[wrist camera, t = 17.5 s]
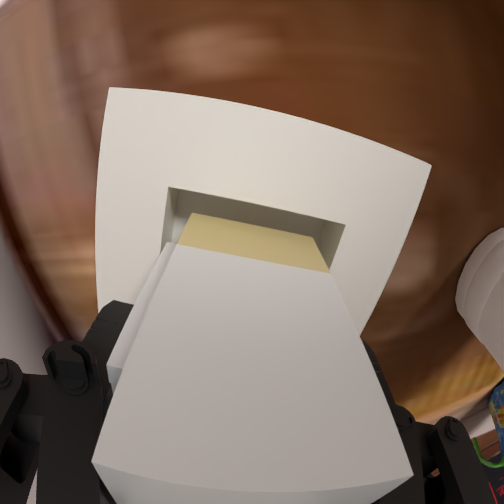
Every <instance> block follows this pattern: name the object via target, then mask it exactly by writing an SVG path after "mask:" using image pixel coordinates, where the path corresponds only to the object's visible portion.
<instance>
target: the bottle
mask: <svg viewBox="0 0 504 504" xmlns="http://www.w3.org/2000/svg"><path fill="white" fill-rule="evenodd" d="M455 301H456V306H457V311H458V312H459V314H460V315H461V316H462V317H463V319H464V320H465V323H466V324H467V326H468V327H469V328H470V330H471V331H472V332H473V333H474V335H475V336H476V337H477V338H478V339H479V341H480V342H481V343H482V344H484V345H485V347H486V348H487V349H488V351H489V352H490V353H491V355H492V356H493V358H494V359H495V360H496V362H497V363H498V364H499V366H500V367H501V369H502V370H503V372H504V228H500V229H498V230H496V231H495V232H493V233H491V234H489V235H488V236H487V237H486V238H485V239H484V240H483V241H482V242H481V243H480V244H479V245H478V246H477V247H476V248H475V250H474V251H473V253H472V254H471V256H470V257H469V259H468V261H467V262H466V264H465V266H464V268H463V271H462V273H461V276H460V278H459V281H458V285H457V291H456V297H455Z"/></svg>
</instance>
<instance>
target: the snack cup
mask: <svg viewBox="0 0 504 504" xmlns="http://www.w3.org/2000/svg"><path fill="white" fill-rule="evenodd" d="M488 405H489V410H490V413H491V415H492V418H493V422H494V424H495V428H496V431H497V433H498V436H499V443H500V449H501V457H502V460H501V461H500V462H499V463H498V464H497V463H491V462H489V461H487V460H485V459H483V457H482V454H481V451H480V448H479V446H478V441H477V439H476V438H475V437H474V438H473V446H474V448H475V450H476V453H477V455H478V457H479V460H480V461H481V462H482V463H483V464H485V465H486V466H488V467H492V468H497V467H502V466H504V381H503V383H502V384H501V385H499V386H498V387H496V388H495V389H494V392H493V394H492V395H491V396H490V399H489V402H488Z"/></svg>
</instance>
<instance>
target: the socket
mask: <svg viewBox="0 0 504 504" xmlns="http://www.w3.org/2000/svg"><path fill="white" fill-rule="evenodd" d="M431 166H432V165H430V164H428V163H426V162H424V161H421V160H419V159H417V158H414V157H412V156H410V155H407V154H405V153H402V152H400V151H398V150H395V149H393V148H390V147H387V146H385V145H382V144H380V143H377V142H374V141H371V140H369V139H366V138H363V137H360V136H357V135H355V134H352V133H349V132H346V131H343V130H339V129H336V128H333V127H330V126H327V125H323V124H320V123H317V122H313V121H310V120H306V119H303V118H299V117H295V116H292V115H288V114H284V113H280V112H276V111H272V110H268V109H263V108H259V107H254V106H250V105H245V104H240V103H235V102H230V101H224V100H219V99H213V98H207V97H201V96H194V95H187V94H180V93H172V92H163V91H154V90H143V89H130V88H113V87H109V92H108V97H107V103H106V109H105V115H104V122H103V129H102V137H101V145H100V154H99V165H98V177H97V192H96V217H95V259H96V284H97V300H98V312H100V310H101V309H102V307H104V306H105V305H107V304H108V303H110V302H111V301H113V300H116V301H120V302H124V303H129V304H133V305H134V304H135V302H136V300H137V298H138V296H139V294H140V292H141V290H142V288H143V286H144V284H145V282H146V280H147V278H148V277H149V275H150V273H151V271H152V269H153V267H154V265H155V263H156V261H157V259H158V258H159V256H160V254H161V252H162V250H163V248H164V247H165V245H166V243H167V242H170V243H175V244H177V242H178V240H179V238H180V236H181V234H182V232H183V230H184V228H185V226H186V224H187V222H188V220H189V218H190V216H191V214H192V213H196V214H201V215H207V216H212V217H217V218H222V219H227V220H232V221H237V222H242V223H247V224H252V225H257V226H262V227H266V228H271V229H276V230H281V231H286V232H290V233H295V234H300V235H304V236H309V237H313V239H314V241H315V243H316V245H317V247H318V249H319V251H320V253H321V255H322V257H323V259H324V261H325V263H326V265H327V267H328V269H329V271H330V273H331V275H332V277H333V279H334V282H335V284H336V286H337V288H338V290H339V292H340V294H341V296H342V298H343V301H344V303H345V305H346V307H347V309H348V311H349V314H350V316H351V318H352V320H353V322H354V325H355V327H356V329H357V331H358V334H359V336H360V334H361V333H362V331H363V329H364V327H365V325H366V323H367V321H368V319H369V317H370V315H371V313H372V312H373V310H374V308H375V306H376V304H377V302H378V299H379V297H380V295H381V293H382V291H383V289H384V287H385V285H386V283H387V281H388V278H389V276H390V274H391V272H392V270H393V267H394V265H395V263H396V261H397V258H398V256H399V254H400V251H401V249H402V246H403V244H404V242H405V239H406V237H407V234H408V232H409V229H410V227H411V224H412V221H413V219H414V216H415V213H416V211H417V208H418V205H419V202H420V200H421V197H422V194H423V191H424V188H425V185H426V182H427V179H428V176H429V173H430V169H431Z"/></svg>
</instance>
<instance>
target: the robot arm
mask: <svg viewBox="0 0 504 504" xmlns="http://www.w3.org/2000/svg"><path fill="white" fill-rule="evenodd" d="M175 246H176V244H175V243H170V242H167V243H166V245H165V247H164V248H163V250H162V252H161V254H160V256H159V258H158V259H157V261H156V263H155V265H154V267H153V269H152V271H151V273H150V275H149V277H148V278H147V280H146V282H145V284H144V286H143V288H142V290H141V292H140V294H139V296H138V298H137V300H136V302H135V304H134V305H133V304H129V303H124V302H120V301H116V300H113V301H111V302H110V303H108V304H107V305H105V306H104V307H102V309H101V310H100V312H99V314H98V315H97V317H96V320H94V322H93V324H92V326H91V329H89V331H88V332H87V334H86V336H85V338H84V339H83V341H82V342H78V341H74V340H65V341H60V342H57V343H55V344H53V345H52V346H50V347H49V348H48V349H47V350H46V351H45V353H44V355H43V357H42V358H43V361H44V364H45V367H46V370H47V373H48V375H36V374H25V373H22V371H21V369H20V367H19V366H18V364H16V363H15V362H13V361H12V360H9V359H5V358H2V359H0V504H26V502H27V499H28V496H29V492H30V489H31V486H32V483H33V480H34V477H35V474H36V471H37V490H36V492H37V493H36V504H117V503H116V502H115V500H114V499H113V497H112V495H111V494H110V492H109V491H108V489H107V488H106V486H105V484H104V483H103V481H102V479H101V478H100V476H99V474H98V473H97V471H96V469H95V467H94V466H93V464H92V462H91V461H92V458H93V455H94V451H95V448H96V445H97V442H98V439H99V436H100V432H101V429H102V426H103V423H104V420H105V417H106V414H107V412H108V409H109V406H110V403H111V400H112V397H113V395H114V392H115V389H116V386H117V384H118V381H119V378H120V375H121V373H122V370H123V368H124V365H125V362H126V360H127V357H128V355H129V352H130V350H131V347H132V345H133V342H134V340H135V337H136V335H137V332H138V330H139V327H140V325H141V322H142V320H143V318H144V315H145V313H146V311H147V308H148V306H149V304H150V301H151V299H152V297H153V294H154V292H155V290H156V288H157V285H158V283H159V281H160V279H161V277H162V274H163V272H164V270H165V268H166V266H167V263H168V261H169V259H170V257H171V255H172V253H173V251H174V249H175ZM362 343H363V345H364V347H365V350H366V352H367V354H368V357H369V359H370V361H371V364H372V366H373V368H374V371H375V373H376V376H377V378H378V381H379V383H380V386H381V388H382V390H383V393H384V395H385V398H386V401H387V403H388V406H389V408H390V411H391V413H392V416H393V419H394V421H395V424H396V427H397V429H398V432H399V435H400V437H401V440H402V443H403V446H404V449H405V451H406V454H407V457H408V460H409V463H410V466H411V469H412V472H413V476H412V477H411V478H409V479H408V480H406V481H405V482H404V483H402V484H401V485H399V486H398V487H396V488H395V489H393V490H392V491H390V492H389V493H387V494H386V495H384V496H383V497H381V498H379V499H378V500H376V501H375V502H373V503H371V504H497V503H496V500H495V498H494V495H493V492H492V489H491V487H490V484H489V482H488V479H487V477H486V474H485V472H484V469H483V467H482V464H481V462H480V460H479V457H478V455H477V453H476V450H475V448H474V446H473V444H472V441H471V439H470V437H469V435H468V433H467V431H466V429H465V427H464V426H463V424H462V423H461V422H460V421H459V420H458V419H456V418H453V417H450V416H445V417H443V418H441V419H440V420H439V421H438V422H437V423H436V424H435V425H430V424H425V423H420V422H416V421H415V419H414V417H413V415H412V414H411V413H410V412H409V411H408V410H407V409H405V408H404V407H402V406H399V405H396V404H395V401H394V399H393V397H392V394H391V392H390V389H389V387H388V385H387V382H386V380H385V378H384V375H383V373H381V368H380V366H379V364H377V362H378V361H377V359H376V357H375V355H374V352H373V351H372V349H371V348H370V347H369V346H368V345H367V344H366V343H365V342H364V341H362ZM37 468H38V470H37ZM437 468H438V469H439V472H440V474H439V475H438V476H437V477H434V476H432V474H431V472H433V471H434V470H435V469H437Z"/></svg>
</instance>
